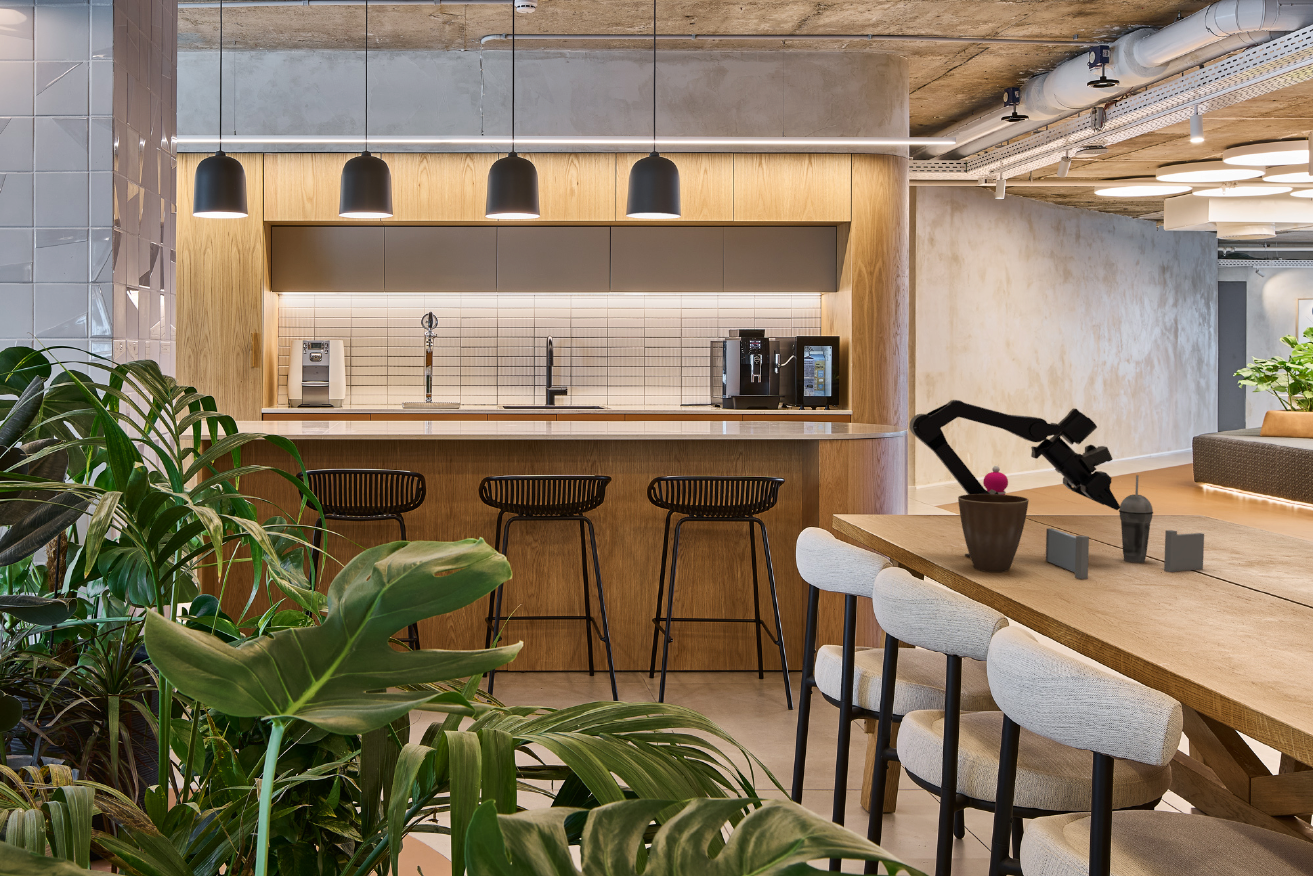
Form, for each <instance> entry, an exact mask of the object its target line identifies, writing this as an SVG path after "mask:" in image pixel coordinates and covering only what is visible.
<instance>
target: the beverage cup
mask: <svg viewBox="0 0 1313 876" xmlns="http://www.w3.org/2000/svg"><path fill="white" fill-rule="evenodd" d="M1134 493H1135V494H1130V495H1127V496H1126V497H1124V498H1123V500H1121V503H1120V504H1119V505H1120V508H1119V509H1118V512H1119V518H1120V526H1121V542H1122V554H1123V561H1124V562H1125V563H1132V564H1133V563H1134V564H1137V563H1138V564H1142V563H1146V558H1147V557H1146V556H1147V553H1148V545H1149V537H1150V529H1151V522H1152V519H1153V514H1154V511H1153V506H1152V503H1151V501H1150V500H1149V499H1148V498H1147V497H1146V496H1145V495H1141V494H1139V475H1138V474H1137V475H1135V492H1134Z"/></svg>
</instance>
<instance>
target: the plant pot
mask: <svg viewBox="0 0 1313 876" xmlns="http://www.w3.org/2000/svg"><path fill="white" fill-rule="evenodd" d="M957 499H958V500H957V501H958V508H959V517H960V521H961V528H962V531H963V537H964V540H965V544H966V548H967V552H968V553H969V555H970V557H969V558H970V561H971V563H972V566H973V568H974V570H977V571H980V572H981V571H983V572H987V573H988V572H989V573H1004V572H1008V571H1009V569H1010V568H1011V565H1012V563H1013V561H1014V558H1015V556H1016V553H1017V551H1018V547H1019V545H1020V542H1021V539H1022V538H1021V537H1022V534H1023V531H1024V527H1025V523H1026V518H1027V512H1028V509H1029V498H1028V497H1027V498H1026V497H1023V496H1019V495H1013V494H1012V495H1010V494H1005V495H1000V494H969V495H968V494H964V495H963V494H961V495H958V496H957Z"/></svg>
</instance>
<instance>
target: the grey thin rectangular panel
mask: <svg viewBox="0 0 1313 876" xmlns="http://www.w3.org/2000/svg"><path fill="white" fill-rule="evenodd" d="M1045 533H1046V534H1045V535H1046V538H1045V539H1046V540H1045V541H1046V542H1045V543H1046V544H1045V562H1049V563H1051V564H1053V565H1056V566H1059V567H1060V568H1063V569H1065V570H1067V571H1071V572H1073V573H1075V557H1076V536H1077V535H1076V536H1075V535H1072V534H1069V533H1066V532H1064V531H1060V530H1058V529H1054V528H1050V527H1049V528H1046V532H1045Z"/></svg>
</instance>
